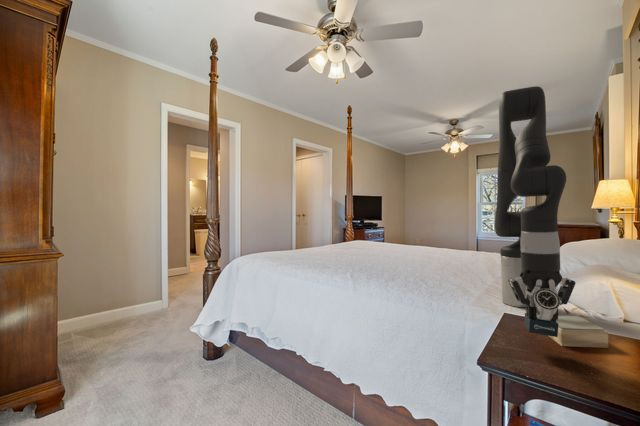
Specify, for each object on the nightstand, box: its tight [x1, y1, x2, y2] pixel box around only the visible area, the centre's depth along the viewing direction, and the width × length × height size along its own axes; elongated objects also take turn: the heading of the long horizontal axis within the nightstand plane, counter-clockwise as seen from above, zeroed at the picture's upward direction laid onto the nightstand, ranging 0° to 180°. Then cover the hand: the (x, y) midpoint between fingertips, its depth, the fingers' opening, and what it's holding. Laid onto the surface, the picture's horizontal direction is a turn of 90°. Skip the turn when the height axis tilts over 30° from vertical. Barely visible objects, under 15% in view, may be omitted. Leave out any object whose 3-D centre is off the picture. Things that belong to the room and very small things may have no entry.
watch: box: [523, 289, 562, 337], centre depth 70 cm, size 6×8×11 cm
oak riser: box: [546, 315, 609, 349], centre depth 76 cm, size 10×10×4 cm
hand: (542, 320), depth 70 cm, fingers closed on watch, 3 cm apart
